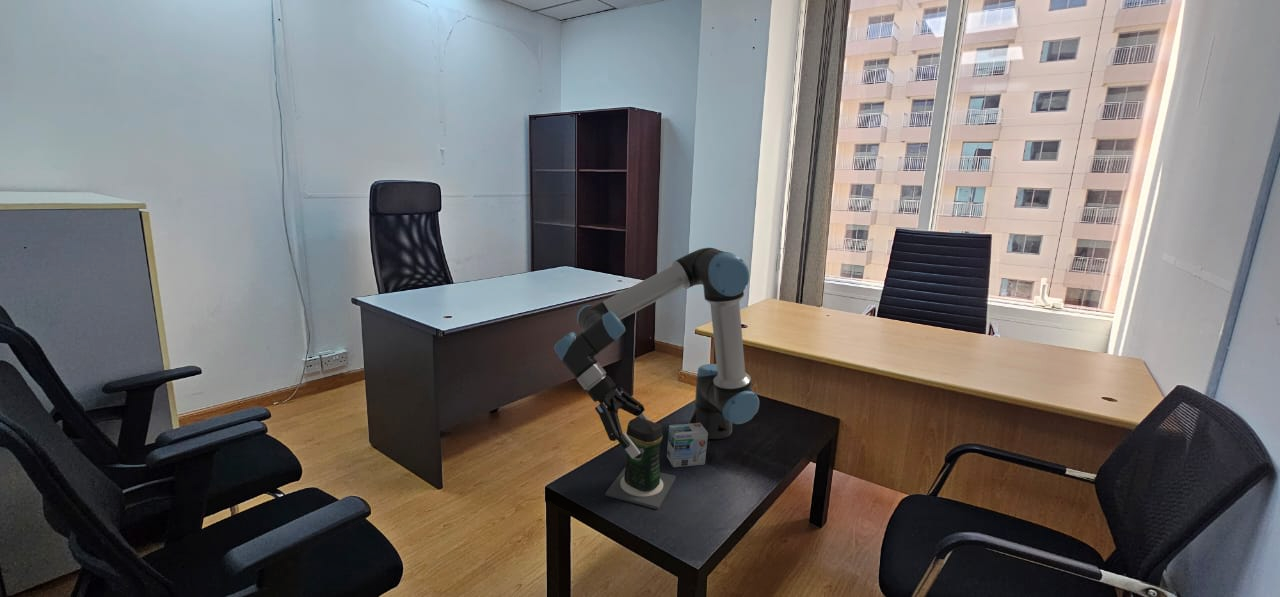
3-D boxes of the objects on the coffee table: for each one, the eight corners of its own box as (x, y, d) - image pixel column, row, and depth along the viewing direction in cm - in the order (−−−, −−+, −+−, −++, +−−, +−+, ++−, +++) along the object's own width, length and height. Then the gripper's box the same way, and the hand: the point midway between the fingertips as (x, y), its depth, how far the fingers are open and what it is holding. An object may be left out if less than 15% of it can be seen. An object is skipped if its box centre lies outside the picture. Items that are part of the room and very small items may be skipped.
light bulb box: (672, 468, 158) (675, 435, 155) (665, 456, 164) (668, 424, 162) (706, 464, 161) (709, 432, 158) (698, 453, 167) (700, 422, 165)
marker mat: (627, 466, 157) (627, 463, 157) (675, 478, 152) (675, 475, 152) (605, 495, 143) (605, 492, 142) (658, 509, 138) (658, 506, 137)
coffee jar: (664, 484, 147) (668, 422, 143) (646, 496, 141) (650, 432, 137) (637, 471, 153) (640, 411, 149) (619, 482, 147) (622, 420, 143)
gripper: (605, 375, 159) (650, 431, 157) (566, 407, 136) (618, 473, 134) (623, 361, 156) (668, 418, 154) (586, 391, 133) (639, 459, 131)
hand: (645, 444), depth 144 cm, fingers open, 13 cm apart
